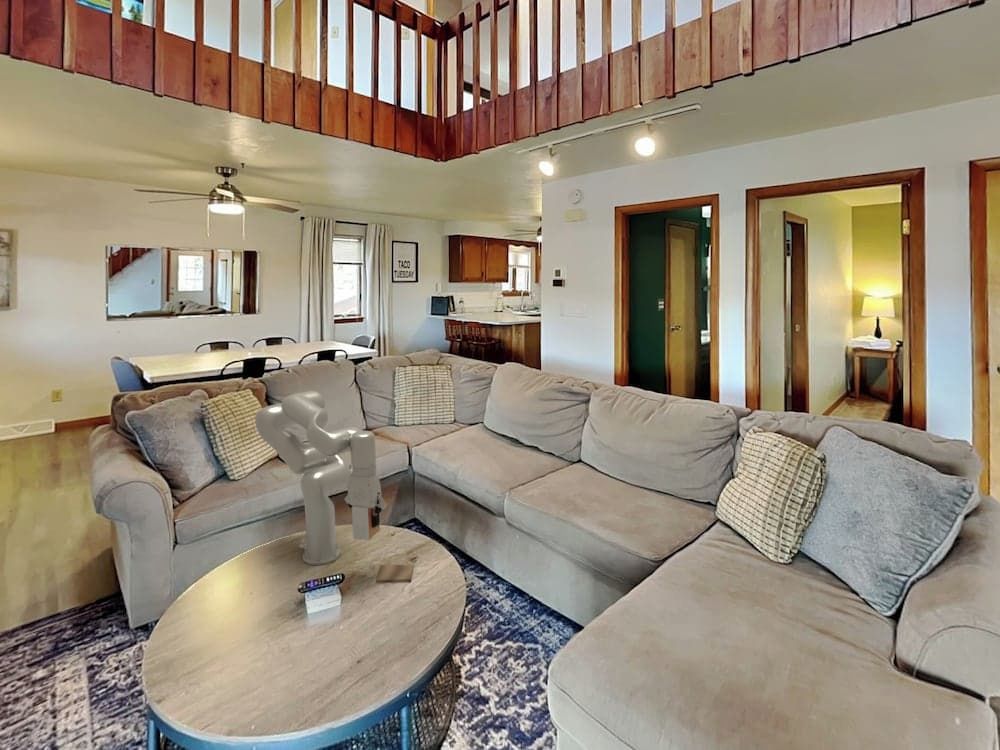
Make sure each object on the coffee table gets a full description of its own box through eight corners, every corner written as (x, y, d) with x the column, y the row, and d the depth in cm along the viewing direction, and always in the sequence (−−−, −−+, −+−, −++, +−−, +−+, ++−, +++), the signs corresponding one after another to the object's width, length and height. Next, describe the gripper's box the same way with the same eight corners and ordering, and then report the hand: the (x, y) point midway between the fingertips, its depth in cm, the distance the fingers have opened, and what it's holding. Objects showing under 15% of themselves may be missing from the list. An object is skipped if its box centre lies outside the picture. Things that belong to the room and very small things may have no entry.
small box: (369, 541, 165) (367, 509, 164) (352, 539, 166) (351, 507, 165) (380, 530, 173) (379, 499, 171) (364, 528, 174) (363, 498, 172)
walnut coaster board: (375, 582, 168) (375, 579, 168) (380, 567, 177) (380, 565, 177) (410, 582, 169) (410, 579, 168) (413, 567, 177) (413, 564, 177)
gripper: (333, 470, 166) (337, 524, 169) (380, 477, 160) (382, 533, 162) (349, 463, 173) (351, 515, 176) (394, 469, 167) (396, 523, 169)
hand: (366, 523), depth 169 cm, fingers closed on small box, 6 cm apart
